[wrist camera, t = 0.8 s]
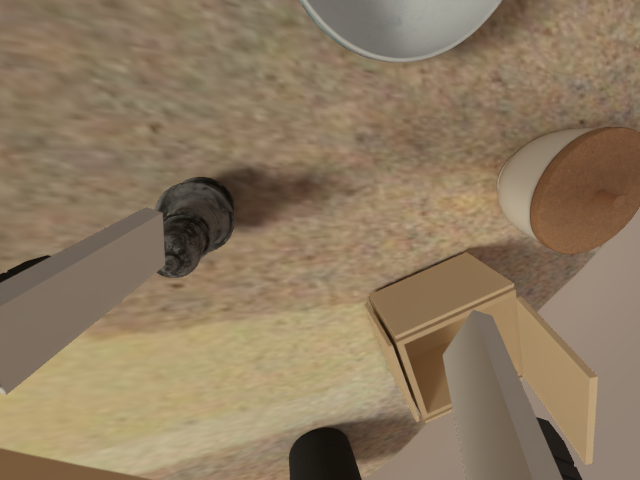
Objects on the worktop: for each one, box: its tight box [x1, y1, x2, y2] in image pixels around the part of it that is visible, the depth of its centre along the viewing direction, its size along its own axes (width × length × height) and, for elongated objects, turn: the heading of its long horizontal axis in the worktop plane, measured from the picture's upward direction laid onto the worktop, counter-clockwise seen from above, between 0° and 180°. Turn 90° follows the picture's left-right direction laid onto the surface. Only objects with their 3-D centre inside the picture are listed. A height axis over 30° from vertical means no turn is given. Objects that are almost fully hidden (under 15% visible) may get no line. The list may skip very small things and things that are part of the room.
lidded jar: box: [497, 127, 640, 254], centre depth 27 cm, size 11×11×9 cm
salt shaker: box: [155, 177, 235, 278], centre depth 21 cm, size 6×6×12 cm
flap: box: [516, 297, 598, 464], centre depth 26 cm, size 11×1×8 cm, turn 21°
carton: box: [365, 252, 523, 423], centre depth 33 cm, size 14×13×8 cm
